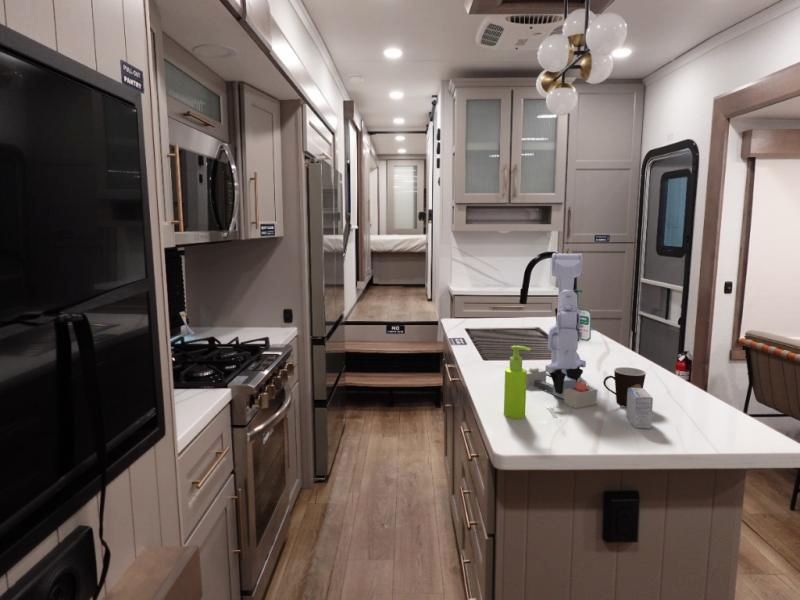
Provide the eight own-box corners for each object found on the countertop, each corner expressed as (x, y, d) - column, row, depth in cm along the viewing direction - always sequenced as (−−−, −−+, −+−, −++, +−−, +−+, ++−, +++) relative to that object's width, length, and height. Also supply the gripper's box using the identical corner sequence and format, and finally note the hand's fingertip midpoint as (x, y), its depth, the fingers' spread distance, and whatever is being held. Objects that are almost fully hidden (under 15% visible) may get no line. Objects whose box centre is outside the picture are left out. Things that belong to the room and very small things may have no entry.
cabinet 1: (539, 381, 172) (540, 365, 171) (545, 383, 169) (546, 368, 168) (521, 384, 168) (521, 368, 167) (527, 387, 165) (527, 371, 165)
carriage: (563, 392, 159) (564, 375, 158) (575, 397, 154) (575, 379, 154) (552, 394, 157) (553, 377, 156) (564, 399, 153) (565, 381, 152)
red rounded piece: (580, 391, 151) (581, 380, 151) (588, 394, 149) (588, 383, 148) (573, 393, 150) (573, 382, 149) (580, 396, 147) (581, 384, 147)
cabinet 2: (583, 399, 154) (584, 385, 153) (596, 404, 149) (597, 389, 148) (563, 403, 150) (564, 388, 150) (576, 408, 146) (576, 393, 145)
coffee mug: (641, 400, 152) (643, 368, 151) (645, 410, 144) (647, 376, 143) (600, 396, 156) (602, 365, 155) (602, 405, 148) (604, 373, 147)
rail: (538, 385, 168) (539, 379, 167) (576, 400, 152) (576, 394, 152) (534, 385, 167) (534, 380, 166) (571, 401, 152) (571, 395, 151)
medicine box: (651, 429, 131) (653, 397, 129) (633, 428, 131) (635, 396, 130) (642, 418, 138) (644, 388, 137) (625, 417, 139) (627, 387, 138)
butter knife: (553, 403, 150) (543, 403, 150) (572, 436, 126) (560, 436, 126) (553, 405, 150) (543, 404, 150) (572, 438, 126) (560, 438, 126)
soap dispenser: (524, 420, 137) (527, 349, 134) (500, 416, 140) (502, 346, 137) (531, 414, 142) (533, 345, 139) (508, 409, 145) (509, 342, 142)
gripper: (557, 355, 147) (555, 399, 149) (594, 349, 153) (591, 392, 155) (541, 349, 153) (539, 392, 155) (577, 344, 159) (575, 385, 161)
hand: (564, 391), depth 155 cm, fingers closed on carriage, 4 cm apart
